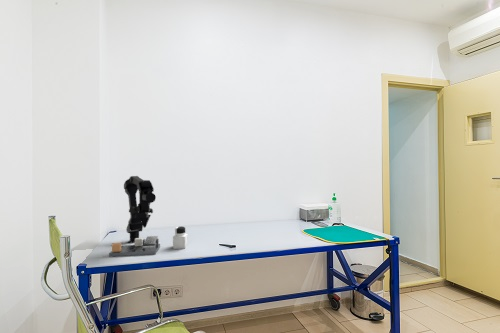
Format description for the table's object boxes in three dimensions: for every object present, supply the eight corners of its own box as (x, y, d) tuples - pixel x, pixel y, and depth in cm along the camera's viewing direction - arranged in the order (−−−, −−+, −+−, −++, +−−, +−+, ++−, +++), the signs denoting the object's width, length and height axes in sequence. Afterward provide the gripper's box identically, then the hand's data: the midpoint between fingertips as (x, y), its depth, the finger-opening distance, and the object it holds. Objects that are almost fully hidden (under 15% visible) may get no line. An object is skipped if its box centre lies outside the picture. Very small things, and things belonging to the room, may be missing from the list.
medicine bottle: (187, 245, 167) (187, 225, 167) (185, 248, 160) (184, 228, 160) (175, 245, 167) (175, 225, 167) (172, 248, 160) (172, 228, 160)
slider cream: (136, 244, 161) (136, 238, 161) (143, 244, 161) (143, 237, 161) (134, 246, 158) (134, 239, 158) (141, 246, 158) (141, 239, 158)
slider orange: (113, 250, 150) (113, 243, 150) (121, 249, 151) (121, 242, 151) (111, 251, 147) (111, 244, 147) (119, 251, 148) (119, 244, 148)
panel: (117, 249, 160) (117, 238, 160) (160, 247, 164) (160, 236, 164) (109, 256, 146) (109, 244, 146) (156, 254, 150) (155, 242, 150)
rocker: (147, 238, 161) (147, 236, 161) (157, 237, 162) (157, 235, 162) (143, 248, 150) (142, 245, 150) (154, 247, 151) (154, 245, 151)
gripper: (134, 199, 171) (134, 224, 171) (125, 203, 153) (125, 231, 153) (153, 199, 173) (153, 224, 173) (146, 203, 155) (146, 230, 154)
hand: (144, 227), depth 163 cm, fingers closed
